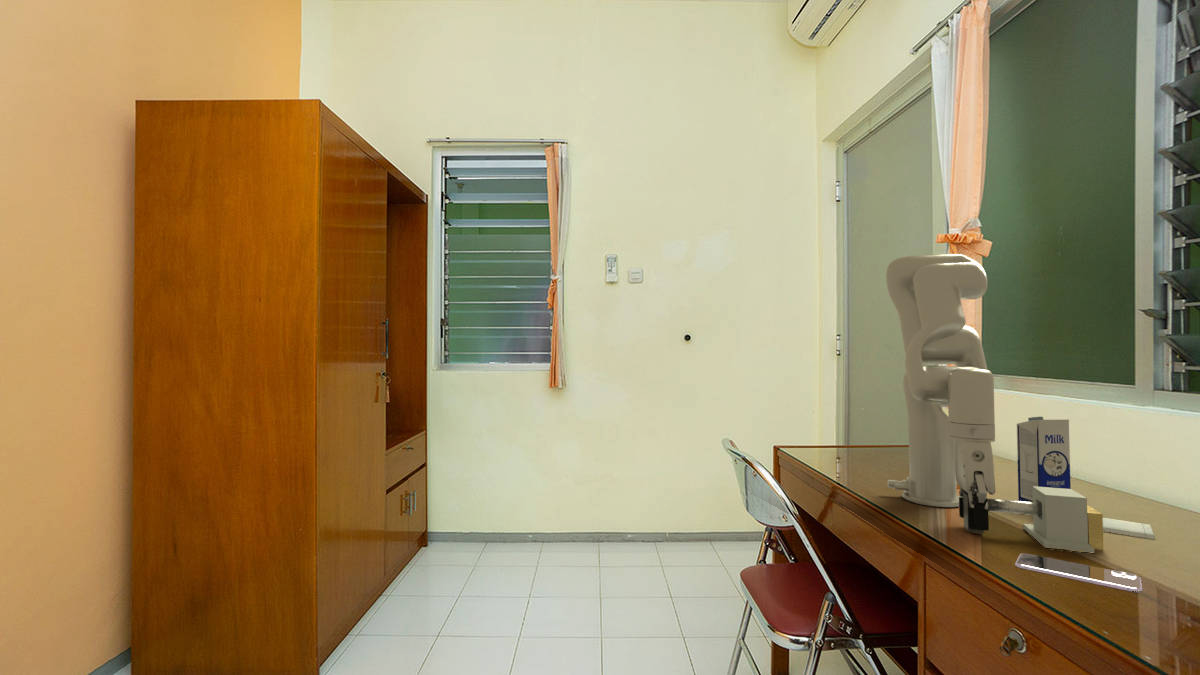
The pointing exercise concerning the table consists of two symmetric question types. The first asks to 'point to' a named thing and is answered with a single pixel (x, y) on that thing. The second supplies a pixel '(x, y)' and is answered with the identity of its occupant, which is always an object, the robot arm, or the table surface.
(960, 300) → the robot arm
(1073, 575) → the mobile phone
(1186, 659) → the table surface
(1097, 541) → the spacer
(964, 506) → the shaft
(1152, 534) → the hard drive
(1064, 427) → the milk carton
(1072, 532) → the bearing block
